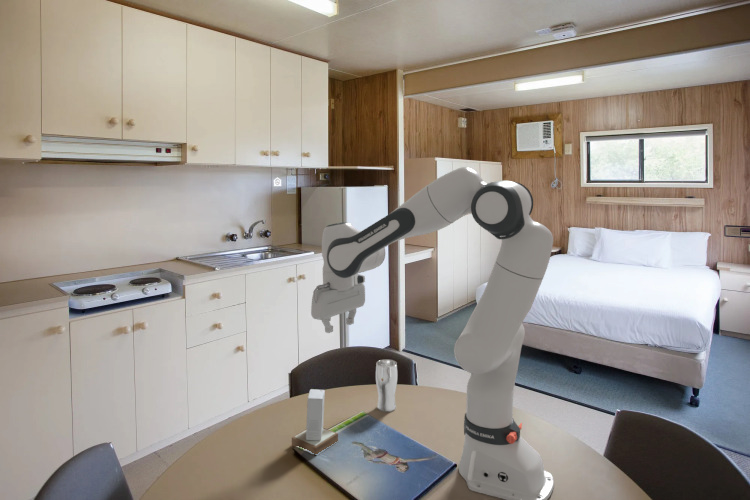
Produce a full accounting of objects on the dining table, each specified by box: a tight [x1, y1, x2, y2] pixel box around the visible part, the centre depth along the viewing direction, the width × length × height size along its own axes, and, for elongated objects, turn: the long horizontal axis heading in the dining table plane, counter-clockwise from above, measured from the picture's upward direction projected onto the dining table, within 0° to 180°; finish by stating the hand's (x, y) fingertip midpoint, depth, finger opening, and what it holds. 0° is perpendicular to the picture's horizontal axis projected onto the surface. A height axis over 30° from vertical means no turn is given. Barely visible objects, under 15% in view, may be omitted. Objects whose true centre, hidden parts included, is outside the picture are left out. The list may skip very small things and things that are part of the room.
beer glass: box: [375, 359, 398, 413], centre depth 150 cm, size 7×7×15 cm
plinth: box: [291, 427, 339, 454], centre depth 130 cm, size 9×9×3 cm
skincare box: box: [305, 388, 326, 441], centre depth 128 cm, size 6×4×12 cm
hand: (339, 328), depth 133 cm, fingers open, 8 cm apart
